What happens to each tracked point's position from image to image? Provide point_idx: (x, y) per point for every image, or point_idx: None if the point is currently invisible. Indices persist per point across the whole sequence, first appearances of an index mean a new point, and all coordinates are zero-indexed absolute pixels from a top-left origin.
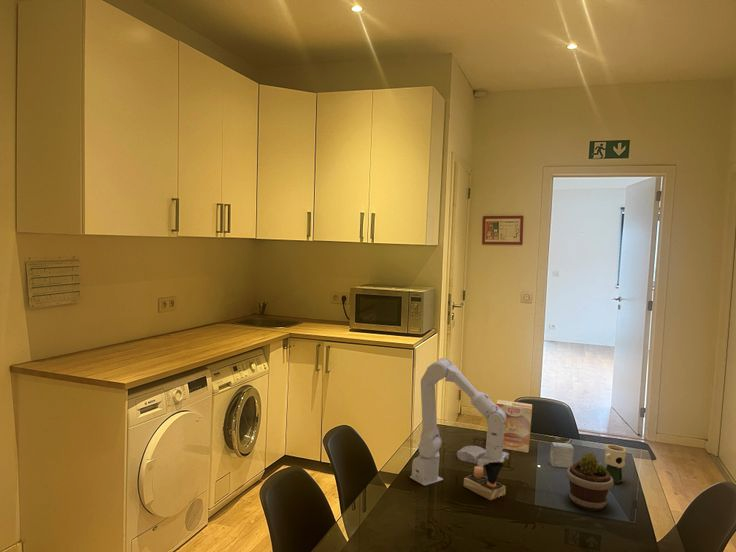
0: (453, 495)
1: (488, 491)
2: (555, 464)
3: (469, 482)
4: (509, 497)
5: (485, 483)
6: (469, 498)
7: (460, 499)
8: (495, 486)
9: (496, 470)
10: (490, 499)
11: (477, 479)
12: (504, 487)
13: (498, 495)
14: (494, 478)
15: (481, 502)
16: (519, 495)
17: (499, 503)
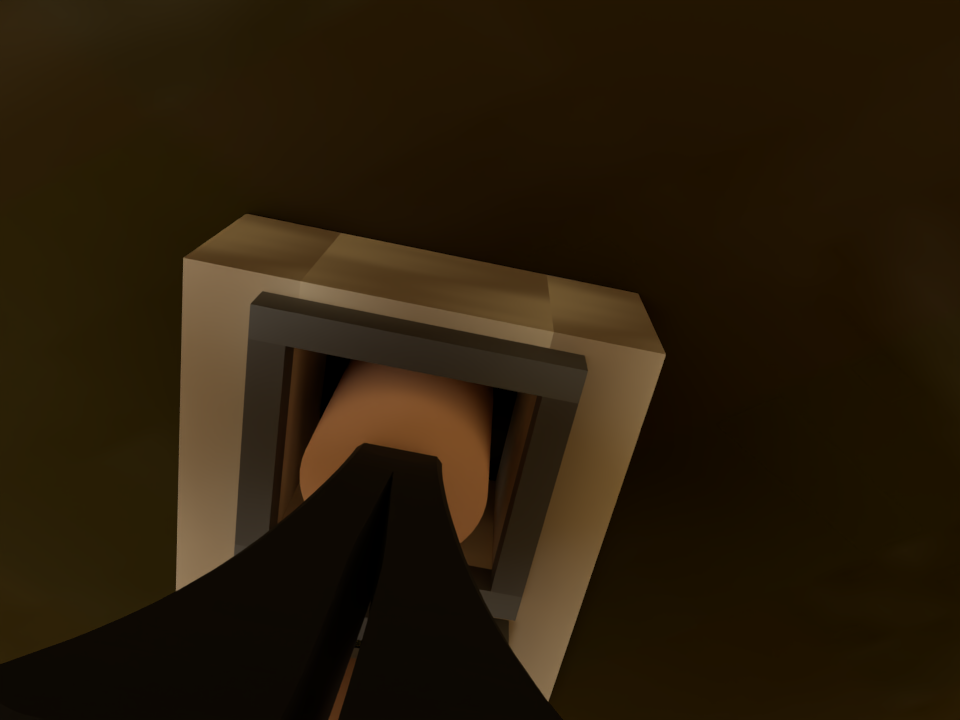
0: (852, 674)
1: (643, 396)
2: None
3: None
4: (264, 110)
5: None
6: (796, 519)
7: (910, 579)
8: (403, 387)
9: (398, 660)
10: (633, 296)
11: None
12: (228, 262)
13: (426, 259)
14: (419, 508)
15: (805, 353)
16: (22, 9)
17: (627, 127)
